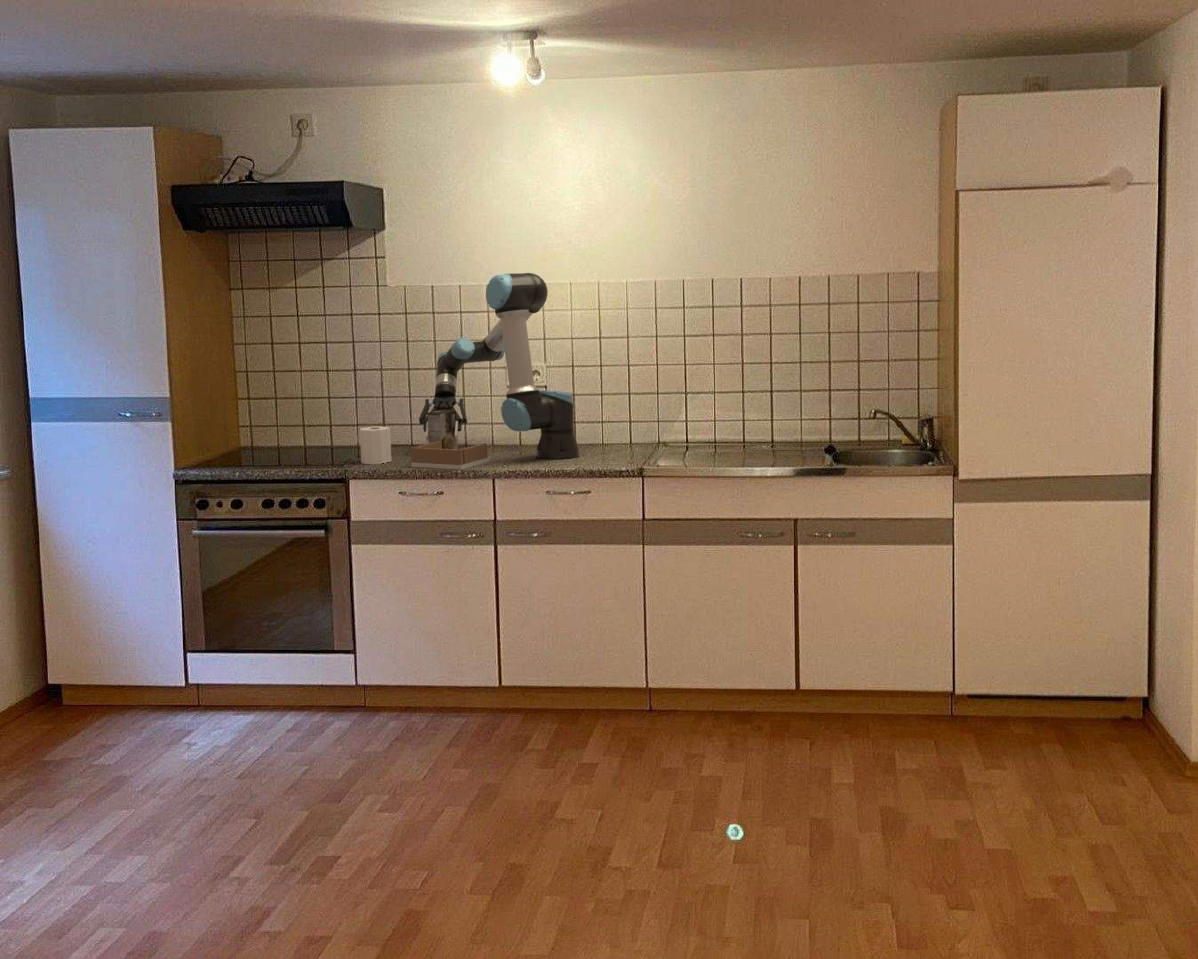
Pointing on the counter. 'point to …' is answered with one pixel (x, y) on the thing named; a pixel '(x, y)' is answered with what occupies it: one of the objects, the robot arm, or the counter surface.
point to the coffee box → (442, 428)
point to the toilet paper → (375, 445)
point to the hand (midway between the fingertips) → (441, 437)
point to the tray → (448, 456)
